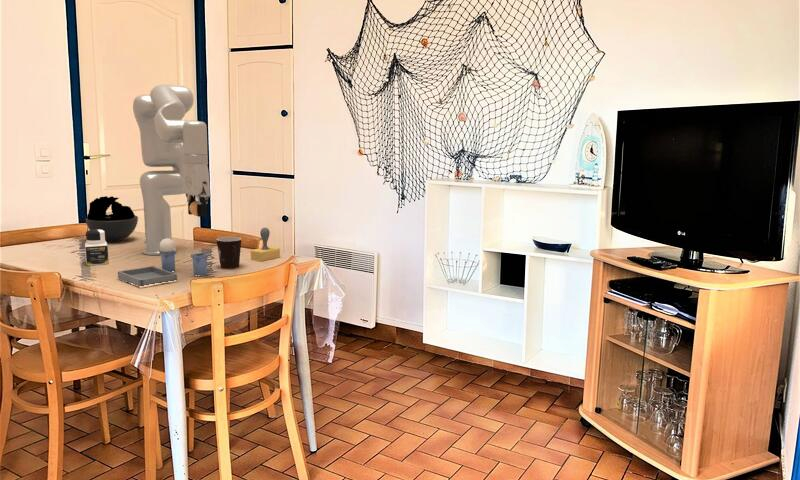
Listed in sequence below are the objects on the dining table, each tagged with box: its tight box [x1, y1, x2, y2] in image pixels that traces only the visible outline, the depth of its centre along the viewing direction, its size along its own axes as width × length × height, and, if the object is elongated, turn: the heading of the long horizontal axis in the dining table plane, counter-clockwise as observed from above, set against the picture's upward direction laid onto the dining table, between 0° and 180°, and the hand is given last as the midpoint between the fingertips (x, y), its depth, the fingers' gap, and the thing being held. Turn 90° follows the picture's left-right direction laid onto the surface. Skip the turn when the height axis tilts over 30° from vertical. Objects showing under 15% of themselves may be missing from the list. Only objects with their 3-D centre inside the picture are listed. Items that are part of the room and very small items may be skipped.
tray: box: [117, 265, 178, 286], centre depth 208 cm, size 16×12×2 cm
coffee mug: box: [215, 236, 242, 270], centre depth 227 cm, size 12×9×10 cm
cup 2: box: [190, 252, 209, 276], centre depth 215 cm, size 4×4×7 cm
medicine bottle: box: [84, 229, 110, 266], centre depth 230 cm, size 7×7×12 cm
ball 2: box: [189, 200, 198, 217], centre depth 212 cm, size 5×5×5 cm
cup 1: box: [159, 250, 177, 273], centre depth 220 cm, size 4×4×7 cm
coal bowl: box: [85, 195, 139, 242], centre depth 270 cm, size 20×20×19 cm
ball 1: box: [160, 238, 176, 253], centre depth 219 cm, size 5×5×5 cm
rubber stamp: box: [250, 227, 281, 263], centre depth 242 cm, size 10×6×12 cm, turn 145°
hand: (197, 214), depth 213 cm, fingers closed on ball 2, 4 cm apart
